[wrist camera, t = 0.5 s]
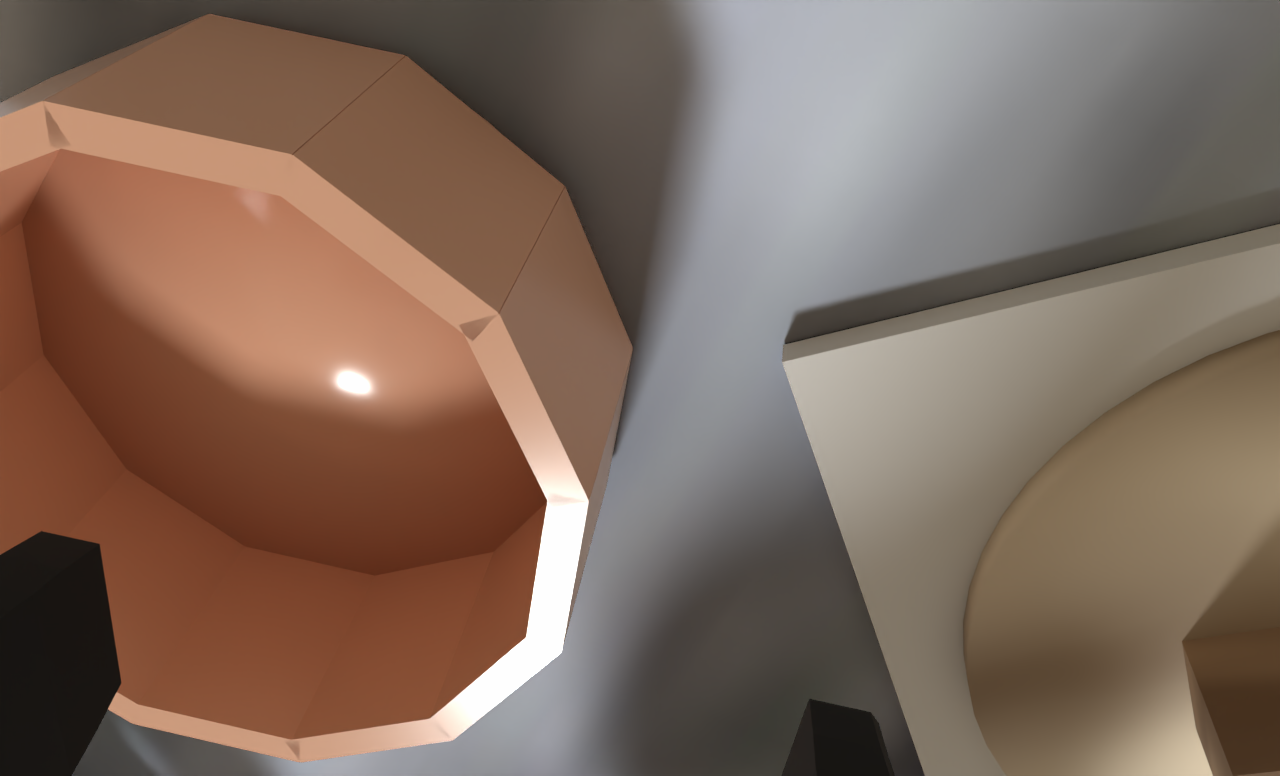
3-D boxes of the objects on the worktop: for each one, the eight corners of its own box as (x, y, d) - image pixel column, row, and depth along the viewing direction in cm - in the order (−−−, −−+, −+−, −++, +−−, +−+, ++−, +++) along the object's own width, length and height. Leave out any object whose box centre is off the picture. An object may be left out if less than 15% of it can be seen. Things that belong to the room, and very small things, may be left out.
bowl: (713, 513, 22) (687, 706, 18) (229, 610, 26) (114, 789, 21) (462, -92, 16) (340, -18, 12) (-111, 140, 20) (-357, 258, 16)
